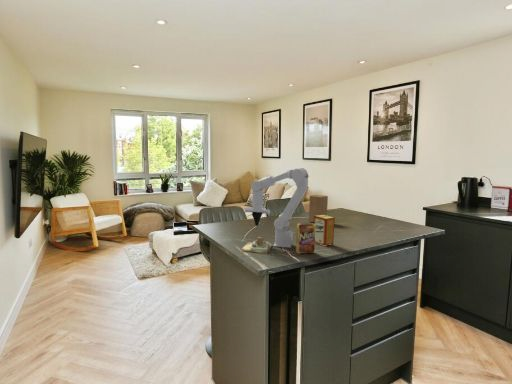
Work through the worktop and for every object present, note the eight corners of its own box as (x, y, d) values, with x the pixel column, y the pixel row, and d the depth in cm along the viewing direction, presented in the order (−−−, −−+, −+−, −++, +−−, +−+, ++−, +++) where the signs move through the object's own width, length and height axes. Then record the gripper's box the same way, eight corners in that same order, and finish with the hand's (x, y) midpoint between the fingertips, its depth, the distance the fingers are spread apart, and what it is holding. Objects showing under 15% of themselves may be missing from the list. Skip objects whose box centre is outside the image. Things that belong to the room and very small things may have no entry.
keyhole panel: (268, 243, 179) (268, 234, 179) (266, 250, 166) (267, 241, 166) (253, 242, 180) (253, 234, 179) (250, 249, 167) (250, 240, 166)
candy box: (297, 254, 165) (298, 224, 163) (295, 251, 169) (296, 222, 167) (314, 254, 165) (315, 224, 164) (312, 251, 170) (313, 222, 168)
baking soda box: (333, 245, 183) (334, 217, 182) (324, 246, 180) (326, 218, 178) (321, 241, 191) (322, 214, 190) (313, 242, 188) (314, 215, 186)
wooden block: (308, 222, 245) (309, 195, 242) (315, 220, 252) (316, 194, 250) (320, 224, 238) (321, 197, 236) (326, 222, 246) (328, 195, 243)
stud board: (272, 246, 178) (272, 240, 178) (266, 253, 165) (266, 246, 165) (248, 243, 181) (248, 238, 181) (241, 250, 168) (241, 244, 168)
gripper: (271, 201, 186) (270, 224, 188) (247, 200, 190) (246, 223, 192) (268, 203, 180) (268, 227, 181) (243, 201, 183) (243, 225, 185)
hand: (256, 225), depth 186 cm, fingers closed
